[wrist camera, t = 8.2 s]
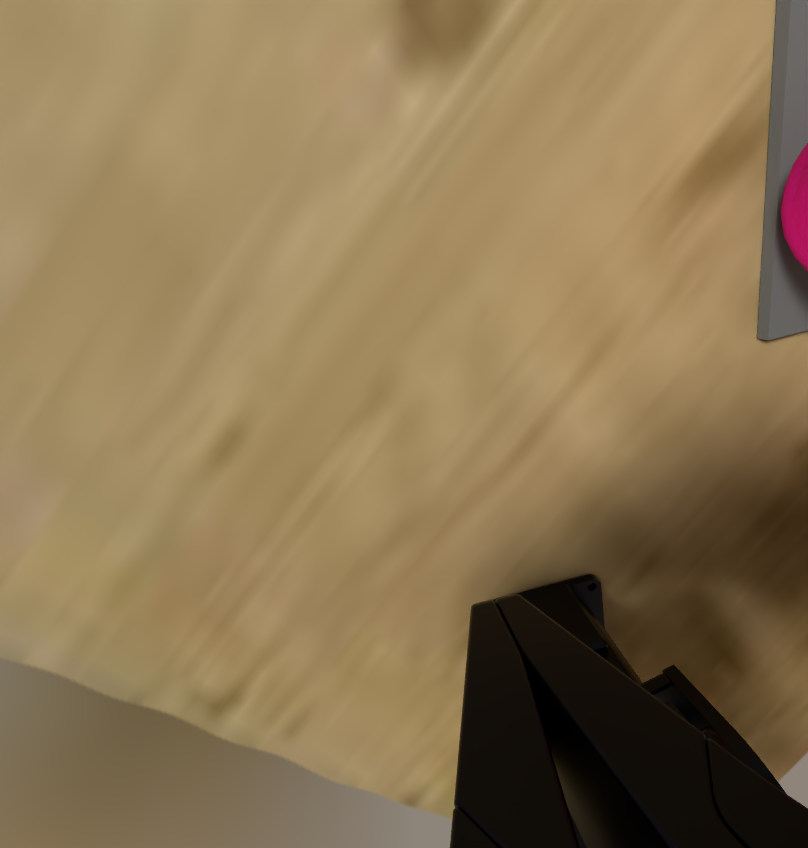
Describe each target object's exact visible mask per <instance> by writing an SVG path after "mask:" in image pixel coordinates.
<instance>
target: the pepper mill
mask: <svg viewBox="0 0 808 848" xmlns="http://www.w3.org/2000/svg"><path fill="white" fill-rule="evenodd" d="M781 218H782V225H783V232H784V237H785V239H786V241H787V243H788V245H789V248H790V250H791V252H792V254H793V256H794V258H795V259H796V260H797V261H798V262H799V263H800V264H801V265H802V266H803V267H804V268H805V270H806V271H808V143H807V145H806V146H805V147H804V149H803V150H802V151H801V153H800V154H799V156H798V158H797V159H796V161H795V162H794V164H793V166H792V169H791V171H790V174H789V176H788V179H787V182H786V184H785V187H784V192H783V198H782V205H781Z"/></svg>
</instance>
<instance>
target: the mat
mask: <svg viewBox="0 0 808 848" xmlns="http://www.w3.org/2000/svg"><path fill="white" fill-rule="evenodd" d="M807 143H808V0H777V4H776V21H775V38H774V55H773V72H772V90H771V107H770V124H769V141H768V159H767V176H766V193H765V210H764V227H763V245H762V262H761V279H760V296H759V314H758V331H757V338H758V339H763V340H772V339H776V338H780V337H784V336H787V335H791V334H795V333H799V332H803V331H807V330H808V271H806V270H805V268H804V267H803V266H802V265H801V264H800V263H799V262H798V261H797V260H796V259H795V258H794V256H793V254H792V252H791V250H790V248H789V245H788V243H787V241H786V239H785V237H784V232H783V225H782V218H781V205H782V198H783V192H784V187H785V184H786V182H787V179H788V176H789V174H790V171H791V169H792V166H793V164H794V162H795V161H796V159H797V158H798V156H799V154H800V153H801V151H802V150H803V149H804V147H805V146H806V145H807Z"/></svg>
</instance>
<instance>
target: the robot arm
mask: <svg viewBox="0 0 808 848" xmlns="http://www.w3.org/2000/svg"><path fill="white" fill-rule="evenodd" d="M591 583H592V584H591ZM589 584H591V585H589ZM662 671H663V673H662V674H660V675H658V676H656V677H654V678H652V679H650V680H648V681H646V682H644V683H642V681H641V680H640V679H639V677H638V676H637V674H636V673H635V671H634V670H633V669H632V667H631V666H630V664H629V663H628V662H627V660H626V659H625V657H624V656H623V654H622V653H621V652H620V650H619V649H618V647H617V646H616V644H615V643H614V642H613V640H612V639H611V637H610V636H609V635H608V633H607V632H606V630H605V627H604V615H603V603H602V591H601V583H600V581H599V580H598V579H597V578H596V577H595V576H594V575H585V576H582V577H578V578H574V579H571V580H567V581H563V582H560V583H556V584H552V585H549V586H545V587H541V588H538V589H534V590H530V591H527V592H523V593H519V594H511V595H507V596H503V597H499V598H497V599H496V600H488V601H484V602H480V603H476V604H473V605H472V607H471V616H470V627H469V639H468V650H467V662H466V673H465V685H464V697H463V708H462V720H461V731H460V743H459V754H458V766H457V777H456V789H455V800H454V805H455V809H454V810H453V819H452V831H451V842H450V848H808V808H806V807H805V806H803V805H802V804H800V803H799V802H797V801H796V800H794V799H792V798H791V797H790V796H788V795H787V794H786V793H785V791H784V790H783V788H782V787H781V786H780V784H779V783H778V782H777V780H776V779H775V778H774V776H773V775H772V774H771V772H770V771H769V770H768V768H767V767H766V766H765V764H764V763H763V762H762V761H761V759H760V758H759V757H758V756H757V754H756V753H755V752H754V751H753V750H752V748H751V747H750V746H749V745H748V744H747V742H746V741H745V740H744V739H743V738H742V737H741V736H740V735H739V733H738V732H737V731H736V730H735V729H734V728H733V727H732V726H731V725H730V724H729V723H728V722H727V721H726V720H725V719H724V717H723V716H722V715H721V714H720V713H719V712H718V711H717V710H716V709H715V708H714V707H713V706H712V705H711V704H710V703H709V702H708V700H707V699H706V698H705V697H704V696H703V695H702V694H701V693H700V692H699V691H698V690H697V689H696V688H695V687H694V686H693V685H692V683H691V682H690V681H689V680H688V679H687V678H686V677H685V676H684V675H683V674H682V673H681V672H680V671H679V670H678V669H677V668H676V667H675V666H674V665H672V666H670V667H668V668H666V669H664V670H662Z"/></svg>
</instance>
